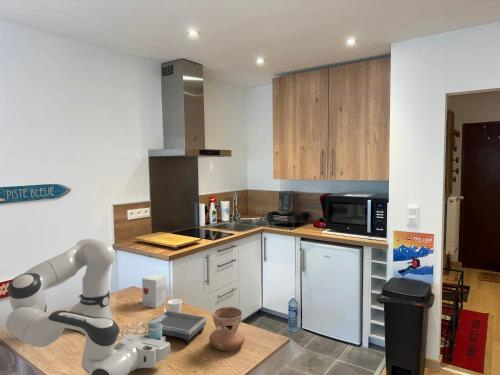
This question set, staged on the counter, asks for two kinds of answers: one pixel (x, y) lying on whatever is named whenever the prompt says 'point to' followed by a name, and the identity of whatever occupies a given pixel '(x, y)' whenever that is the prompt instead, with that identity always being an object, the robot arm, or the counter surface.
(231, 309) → the ceramic jug
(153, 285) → the supplement box
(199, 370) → the counter surface
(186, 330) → the shallow tray
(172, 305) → the cup
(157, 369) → the counter surface
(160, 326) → the tin
